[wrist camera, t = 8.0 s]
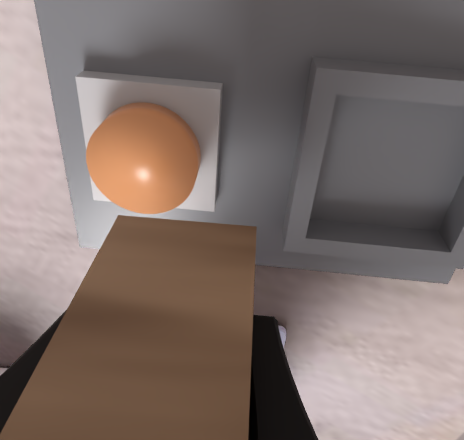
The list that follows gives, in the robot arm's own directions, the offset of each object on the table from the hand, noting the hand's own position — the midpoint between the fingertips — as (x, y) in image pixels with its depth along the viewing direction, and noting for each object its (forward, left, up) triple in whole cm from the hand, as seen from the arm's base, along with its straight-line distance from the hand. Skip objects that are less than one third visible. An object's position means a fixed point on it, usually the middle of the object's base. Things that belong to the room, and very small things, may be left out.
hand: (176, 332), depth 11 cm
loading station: (+2, -3, -9) cm, 9 cm away
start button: (+2, +2, -7) cm, 7 cm away
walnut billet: (0, 0, -2) cm, 2 cm away
